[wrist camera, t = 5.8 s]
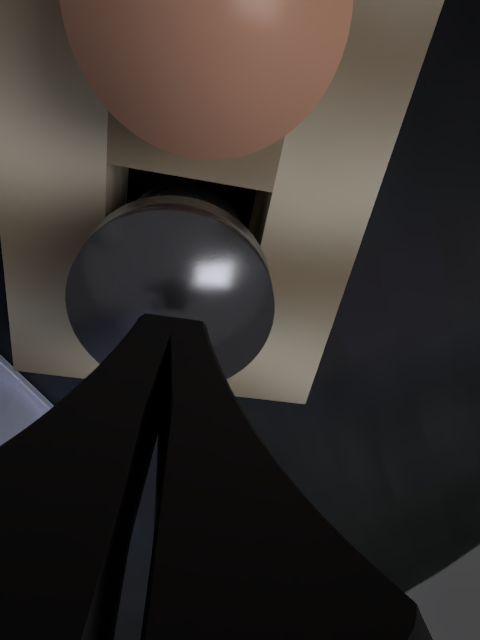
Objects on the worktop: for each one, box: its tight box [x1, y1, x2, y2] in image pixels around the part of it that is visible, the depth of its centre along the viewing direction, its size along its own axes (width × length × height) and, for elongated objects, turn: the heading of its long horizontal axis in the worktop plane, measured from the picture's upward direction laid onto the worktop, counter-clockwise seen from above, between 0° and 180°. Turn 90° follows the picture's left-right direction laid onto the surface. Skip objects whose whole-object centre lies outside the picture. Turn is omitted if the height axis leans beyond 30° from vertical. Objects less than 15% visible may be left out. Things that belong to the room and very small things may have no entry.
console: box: [0, 0, 444, 404], centre depth 13 cm, size 24×11×4 cm, turn 170°
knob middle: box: [60, 0, 353, 160], centre depth 10 cm, size 5×5×4 cm
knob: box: [65, 182, 275, 379], centre depth 13 cm, size 5×5×4 cm
